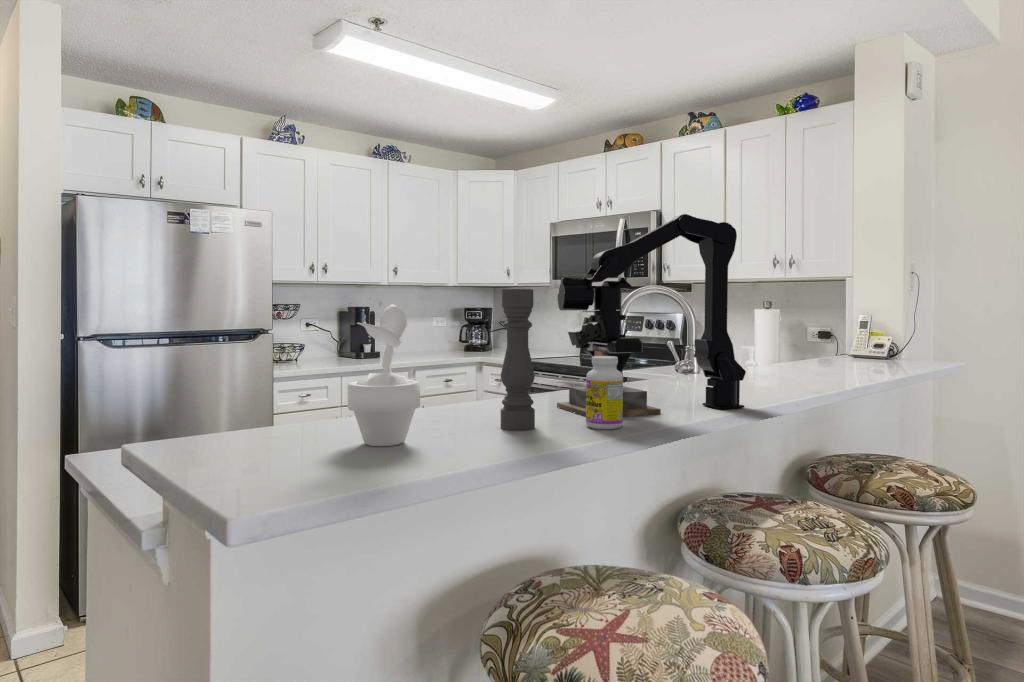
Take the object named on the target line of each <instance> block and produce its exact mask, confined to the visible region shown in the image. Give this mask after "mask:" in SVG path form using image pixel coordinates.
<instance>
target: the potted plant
mask: <svg viewBox="0 0 1024 682" xmlns="http://www.w3.org/2000/svg"><path fill="white" fill-rule="evenodd" d="M371 292H372V291H371V290H370V293H369V298H368V300H367V303H368V304H369V309H370V310H369V312H370V313H372V305H373V303H374V302H375V301H374V300H373V298H372V293H371ZM366 318H367V316H366V315H364V320H363V322H356V324H357V325H360V326H361V327H364V329H365V330H366V333H367V334H368V335H369V336H371V337H372V338H373V339H374V340H376V342H378V343H379V344H380V343H381V344H383V345H385V349H384V352H383V356H382V357H383V358H382V363H381V364H382V370H383V371H381V372H376V373H374V372H373V373H372V372H371V373H368V376H367V379H364V380H355V381H350V382H347V383H346V384H347V387H346V388H347V409H348V411H352V412H353V413H354V416H355V419H356V423H357V425H358V428H359V431H360V434H361V436H362V437H361V438H362V439H363V443H364V444H366V445H368V446H371V447H379V448H380V447H383V448H384V447H393V446H397V445H400V444H402V443H404V442H406V438H407V436H408V432H409V429H410V426H411V423H412V419H413V417H414V413H415V410H416V409H418V408H421V382H420V381H418V380H413V379H407V378H406V376H405V375H400V374H398V373H395V372H393V370H392V362H393V358H394V353H395V348H396V349H398V348H399V346H400V345H401V343H402V341H401V340H400V339H401V337H402V336H403V334H404V332H405V330H406V328H407V326H408V319H407V314H406V313H405V312H404V311H403V309H401V308H400V306H398V305H395V304H392V303H391V304H390V305H388V306H387V307H386V308H384V309H383V312H382V313H381V315H380V320H379V325H376V324H375V325H373V324H371V323H370V324H369V323H367V321H366Z"/></svg>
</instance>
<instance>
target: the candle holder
mask: <svg viewBox="0 0 1024 682" xmlns="http://www.w3.org/2000/svg"><path fill="white" fill-rule="evenodd" d="M501 308H502V310H503V311H502V312H503V313H504V315H505V317H506V320H505V321H504V322H503V324H502V326H503V327H504V328H505V331H506V350H505V354H504V359H503V363H502V367H501V372H500V380H501V381H500V382H501V383H502V384H503V386H504V387H505V390H504V391H505V392H506V395H505V396H504V398H503V399H502V401H501V404H502V405H503V407H501V408H500V429H501V430H505V431H511V432H513V431H514V432H517V431H518V432H520V431H521V432H522V431H530V430H534V429H535V428H536V427H535V423H536V418H535V417H536V412H535V410H536V409H535V408H534V407H532V405H534V400H533V399H532V397H531V395H530V394H529V392H531V389H530V388H531V387H532V385H533V383H534V382H535V371H534V366H533V363H532V358H531V357H532V356H531V353H530V348H529V331H530V329H531V328H532V327H533V322H531V321H530V320H529V318H530V317H531V314H532V312H533V310H532V309H533V308H534V289H533V288H531V289H530V288H529V289H528V288H507V289H506V288H505V289H501Z"/></svg>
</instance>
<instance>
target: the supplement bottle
mask: <svg viewBox="0 0 1024 682" xmlns="http://www.w3.org/2000/svg"><path fill="white" fill-rule="evenodd" d="M617 363H618V357H615V356H594V357H591V364H592V369H591V370H589V371H588V372H587V374H586V378H585V379H586V380H585V382H586V384H585V385H586V386H585V387H586V417H585V423H586V424H585V425H586V426H587V427H588V428H590V429H594V430H600V431H601V430H603V431H605V430H616V429H617V430H618V429H620V428H621V427H622V426H623V420H624V419H623V418H624V416H623V386H624V376H623V373H622V372H620V371H618V370H617V367H616V365H617Z"/></svg>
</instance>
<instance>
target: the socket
mask: <svg viewBox="0 0 1024 682" xmlns="http://www.w3.org/2000/svg"><path fill="white" fill-rule="evenodd" d="M558 407H560V408H559V409H561V408H563V409H562V410H564V409H566V410H565V411H567V410H569V411H568V412H570V411H572V412H571V413H573V412H575V413H574V414H576V413H577V414H576V415H579V414H580V416H582V417H585V418H586V386H575V387H574V386H572V387H569V388H568V401H562V402H556V408H558ZM661 412H662V411H661V408H658V407H654V406H650V405H648V391H647V390H642V389H637V388H633V387H629V386H628V387H627V386H624V385H623V417H634V416H647V415H649V416H650V415H661Z"/></svg>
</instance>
